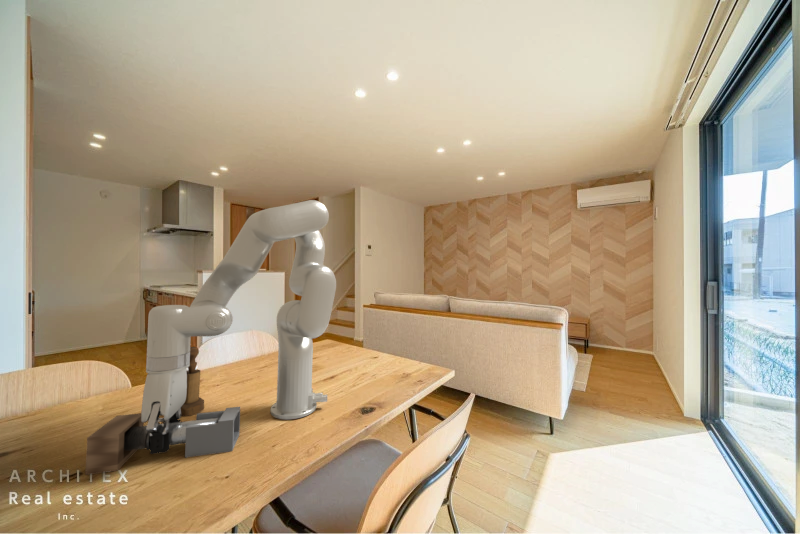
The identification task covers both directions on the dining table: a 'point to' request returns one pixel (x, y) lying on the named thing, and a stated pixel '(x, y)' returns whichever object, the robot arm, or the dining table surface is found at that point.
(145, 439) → the slip tube
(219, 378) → the dining table surface
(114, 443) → the socket block
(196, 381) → the brown wooden upright piece
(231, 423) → the sleeve
